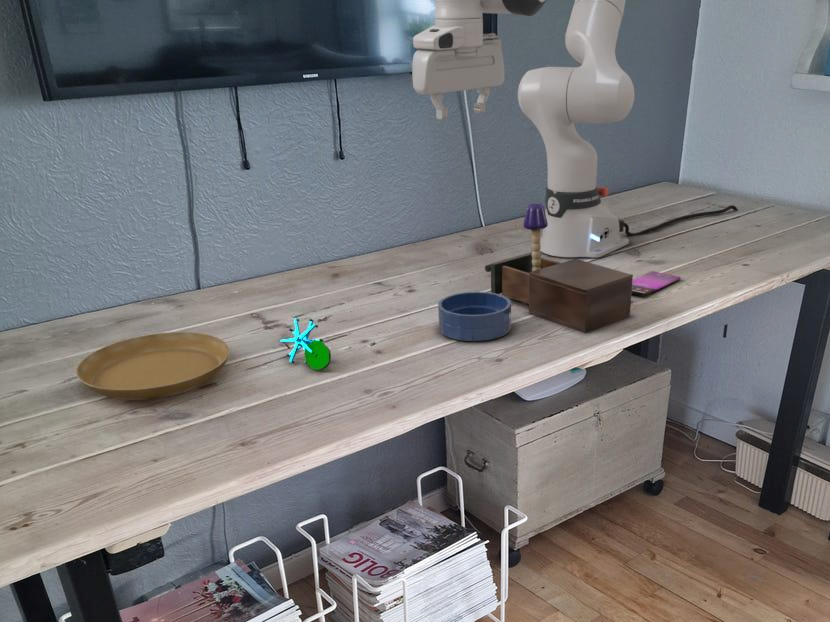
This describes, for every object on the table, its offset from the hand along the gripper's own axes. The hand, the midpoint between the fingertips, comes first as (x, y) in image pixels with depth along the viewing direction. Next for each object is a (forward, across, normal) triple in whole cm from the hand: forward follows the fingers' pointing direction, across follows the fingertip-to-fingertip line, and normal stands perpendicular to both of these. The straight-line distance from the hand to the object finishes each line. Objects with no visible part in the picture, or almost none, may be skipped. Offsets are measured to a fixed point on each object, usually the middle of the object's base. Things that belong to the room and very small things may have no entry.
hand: (461, 115), depth 169 cm
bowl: (+33, +17, +22) cm, 43 cm away
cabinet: (+33, -3, +30) cm, 45 cm away
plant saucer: (+33, +69, +2) cm, 77 cm away
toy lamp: (+31, -3, +18) cm, 36 cm away
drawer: (+32, -3, +16) cm, 36 cm away
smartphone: (+33, -26, +28) cm, 51 cm away
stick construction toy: (+33, +46, +14) cm, 58 cm away
